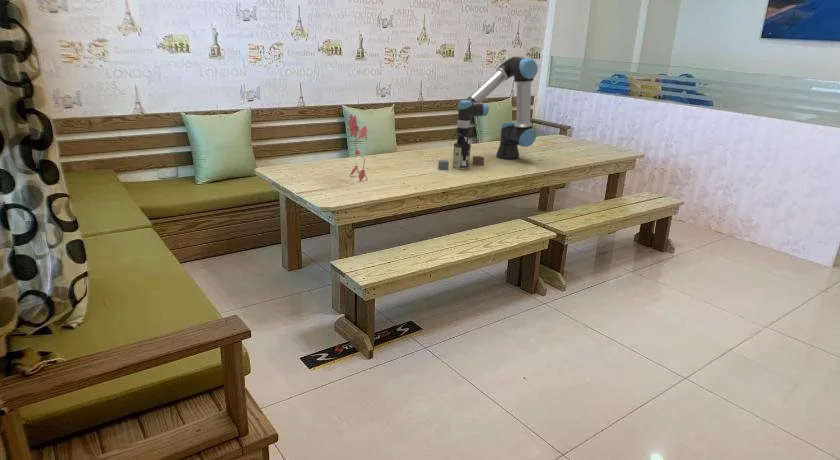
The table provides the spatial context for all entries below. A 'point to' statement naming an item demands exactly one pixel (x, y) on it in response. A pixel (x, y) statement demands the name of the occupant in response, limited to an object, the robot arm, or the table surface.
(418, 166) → the table surface
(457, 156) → the coffee can
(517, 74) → the robot arm
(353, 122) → the red plant
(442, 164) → the blue-gray block
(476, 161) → the walnut block
